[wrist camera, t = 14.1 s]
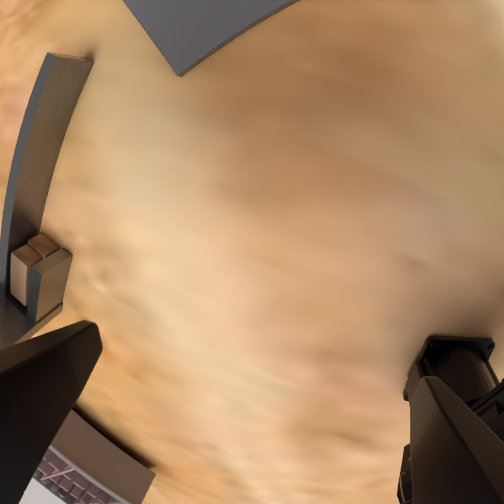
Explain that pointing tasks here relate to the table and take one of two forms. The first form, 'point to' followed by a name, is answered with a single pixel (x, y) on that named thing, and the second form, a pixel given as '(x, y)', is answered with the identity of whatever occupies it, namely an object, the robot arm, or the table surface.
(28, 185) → the board rack
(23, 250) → the block
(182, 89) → the table surface
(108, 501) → the organizer tray
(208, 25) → the rubber mat
